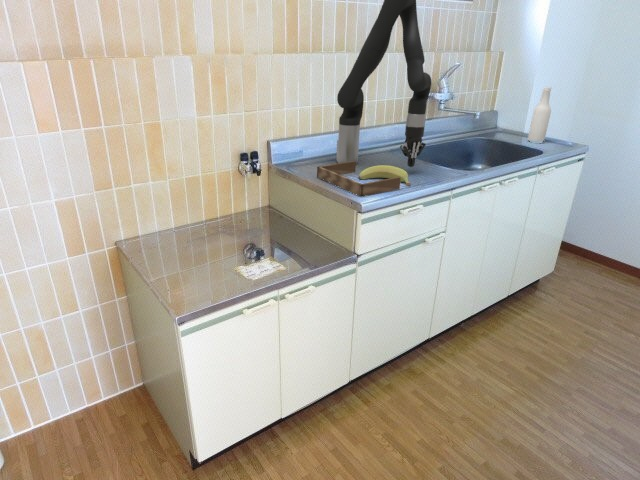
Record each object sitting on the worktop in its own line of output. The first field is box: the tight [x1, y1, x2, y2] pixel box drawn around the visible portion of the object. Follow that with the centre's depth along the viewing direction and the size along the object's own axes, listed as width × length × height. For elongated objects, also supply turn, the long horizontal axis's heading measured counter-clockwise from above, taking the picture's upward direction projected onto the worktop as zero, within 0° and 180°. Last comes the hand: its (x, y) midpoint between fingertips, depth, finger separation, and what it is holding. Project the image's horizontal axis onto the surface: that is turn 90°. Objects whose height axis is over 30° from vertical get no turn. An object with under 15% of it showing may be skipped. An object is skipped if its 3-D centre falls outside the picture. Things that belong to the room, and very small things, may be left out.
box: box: [316, 161, 401, 197], centre depth 178 cm, size 28×19×4 cm
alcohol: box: [527, 86, 552, 141], centre depth 255 cm, size 9×9×30 cm
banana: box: [357, 164, 412, 187], centre depth 182 cm, size 14×6×20 cm
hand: (410, 166), depth 193 cm, fingers closed
